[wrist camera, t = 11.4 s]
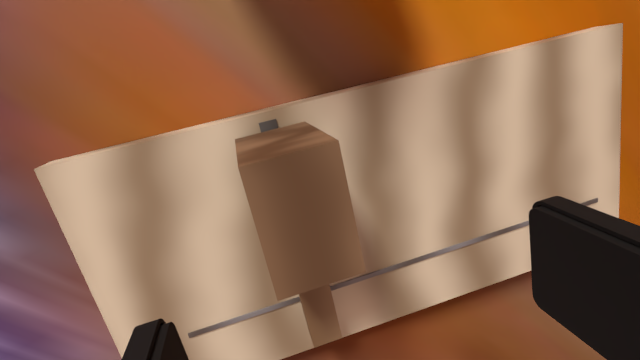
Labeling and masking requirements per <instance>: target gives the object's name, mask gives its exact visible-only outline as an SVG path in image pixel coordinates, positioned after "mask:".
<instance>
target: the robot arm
mask: <svg viewBox="0 0 640 360" xmlns="http://www.w3.org/2000/svg"><path fill="white" fill-rule="evenodd" d="M529 233H530V252H531V271H532V290H533V297H534V300H535V302H536V304H537V305H538V306H539V307H540V308H541V309H542V310H543V311H545V312H546V313H547V314H548V315H550V316H551V317H552V318H554V319H555V320H556V321H558V322H559V323H560V324H561V325H563V326H564V327H565V328H567V329H568V330H569V331H571V332H572V333H573V334H574V335H576V336H577V337H578V338H580V339H581V340H582V341H584V342H585V343H586V344H587V345H589V346H590V347H591V348H593V349H594V350H595V351H597V352H598V353H599V354H600V355H602V356H603V357H604V358H606V359H607V360H640V226H638V225H635V224H633V223H630V222H627V221H625V220H622V219H619V218H617V217H614V216H611V215H609V214H606V213H603V212H601V211H598V210H596V209H593V208H590V207H588V206H585V205H582V204H580V203H577V202H574V201H572V200H569V199H566V198H564V197H561V196H553V197H550V198H547V199H543V200H540V201H537V202H535V203H534V204H533V206H532V209H531V210H530V211H529ZM122 360H189V359H188V356H187V354H186V351H185V349H184V346H183V344H182V341H181V339H180V336H179V334H178V331H177V329H176V327H175V325H174V323H173V322H169V323H166V322H165V321H164V320H163V319H161V318H160V319H157V320H154V321H151V322H148V323H144V324H141V325H138V326H136V327H135V328H134V330H133V332H132V335H131V337H130V340H129V342H128V345H127V347H126V350H125V352H124V355H123V357H122Z"/></svg>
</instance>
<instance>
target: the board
mask: <svg viewBox="0 0 640 360" xmlns="http://www.w3.org/2000/svg"><path fill="white" fill-rule="evenodd" d="M622 37H623V23H620V24H612V25H605V26H598V27H593V28H589V29H585V30H581V31H577V32H572V33H568V34H564V35H560V36H556V37H552V38H548V39H544V40H540V41H536V42H532V43H528V44H524V45H520V46H516V47H512V48H508V49H504V50H500V51H496V52H492V53H488V54H483V55H479V56H475V57H471V58H467V59H463V60H459V61H455V62H451V63H447V64H443V65H439V66H435V67H431V68H427V69H423V70H419V71H415V72H411V73H407V74H403V75H399V76H394V77H390V78H386V79H382V80H378V81H374V82H370V83H366V84H362V85H358V86H354V87H350V88H346V89H342V90H338V91H334V92H330V93H326V94H322V95H318V96H314V97H310V98H305V99H301V100H297V101H293V102H289V103H285V104H281V105H277V106H273V107H269V108H265V109H261V110H257V111H253V112H249V113H245V114H241V115H237V116H233V117H229V118H225V119H221V120H216V121H212V122H208V123H204V124H200V125H196V126H192V127H188V128H184V129H180V130H176V131H172V132H168V133H164V134H160V135H156V136H152V137H148V138H144V139H140V140H136V141H132V142H127V143H123V144H119V145H115V146H111V147H107V148H103V149H99V150H95V151H91V152H87V153H83V154H79V155H75V156H71V157H67V158H63V159H59V160H55V161H51V162H49V163H47V164H44V165H42V166H40V167H38V168H36V169H34V171H35V173H36V175H37V177H38V179H39V181H40V184H41V186H42V188H43V190H44V192H45V194H46V196H47V199H48V201H49V203H50V205H51V207H52V209H53V211H54V214H55V216H56V218H57V220H58V222H59V224H60V226H61V229H62V231H63V233H64V235H65V237H66V239H67V241H68V244H69V246H70V248H71V250H72V252H73V254H74V256H75V259H76V261H77V263H78V265H79V267H80V269H81V271H82V274H83V276H84V278H85V280H86V282H87V284H88V286H89V289H90V291H91V293H92V295H93V297H94V299H95V301H96V304H97V306H98V308H99V310H100V312H101V314H102V316H103V319H104V321H105V323H106V325H107V327H108V329H109V331H110V334H111V336H112V338H113V340H114V342H115V344H116V346H117V348H118V351H119V353H120V355H121V357H123V355H124V352H125V350H126V347H127V345H128V342H129V340H130V337H131V335H132V332H133V330H134V328H135V327H136V326H138V325H141V324H144V323H148V322H151V321H154V320H157V319H160V318H161V319H163V320H164V321H165V322H166V323H169V322H173V323H174V325H175V327H176V329H177V331H178V334H179V336H180V339H181V341H182V344H183V346H184V349H185V351H186V354H187V356H188V359H189V360H281V359H284V358H286V357H289V356H292V355H295V354H298V353H300V352H303V351H306V350H309V349H312V348H314V346H313V342H312V339H311V336H310V333H309V330H308V326H307V323H306V319H305V316H304V312H303V308H302V305H301V301H300V297H299V294H298V295H295V296H292V297H289V298H286V299H283V300H280V301H277V297H276V294H275V291H274V287H273V284H272V281H271V277H270V274H269V270H268V267H267V264H266V260H265V257H264V254H263V250H262V247H261V243H260V240H259V237H258V233H257V230H256V227H255V223H254V220H253V216H252V213H251V210H250V206H249V203H248V200H247V196H246V193H245V190H244V186H243V183H242V179H241V176H240V173H239V169H238V163H237V155H236V146H235V139H238V138H242V137H246V136H249V135H253V134H257V133H261V132H265V131H269V130H273V129H277V128H281V127H284V126H288V125H292V124H296V123H300V122H304V121H305V122H307V123H309V124H311V125H312V126H314V127H316V128H318V129H319V130H321V131H323V132H325V133H327V134H328V135H330V136H332V137H334V138H335V139H337V140H339V144H340V149H341V154H342V159H343V164H344V168H345V173H346V178H347V183H348V188H349V192H350V197H351V202H352V207H353V212H354V216H355V221H356V226H357V231H358V236H359V241H360V245H361V250H362V255H363V260H364V265H365V269H366V272H365V273H362V274H359V275H356V276H353V277H350V278H347V279H343V280H340V281H337V282H334V283H331V284H329V285H330V289H331V293H332V297H333V301H334V305H335V310H336V314H337V318H338V322H339V326H340V330H341V334H342V338H343V337H346V336H348V335H351V334H354V333H357V332H360V331H362V330H365V329H368V328H371V327H374V326H377V325H379V324H382V323H385V322H388V321H391V320H393V319H396V318H399V317H402V316H405V315H407V314H410V313H413V312H416V311H419V310H422V309H424V308H427V307H430V306H433V305H436V304H438V303H441V302H444V301H447V300H450V299H453V298H455V297H458V296H461V295H464V294H467V293H469V292H472V291H475V290H478V289H481V288H484V287H486V286H489V285H492V284H495V283H498V282H500V281H503V280H506V279H509V278H512V277H514V276H517V275H520V274H523V273H526V272H529V271H531V252H530V233H529V211H530V210H531V209H532V206H533V204H534V203H535V202H537V201H540V200H543V199H547V198H550V197H553V196H561V197H564V198H566V199H569V200H572V201H574V202H577V203H580V204H582V205H585V206H588V207H590V208H593V209H596V210H598V211H601V212H603V213H606V214H609V215H611V216H614V217H617V218H619V180H620V132H621V84H622Z"/></svg>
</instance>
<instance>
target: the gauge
mask: <svg viewBox="0 0 640 360" xmlns="http://www.w3.org/2000/svg"><path fill="white" fill-rule="evenodd" d="M235 146H236V155H237V163H238V169H239V173H240V176H241V179H242V183H243V186H244V190H245V193H246V196H247V200H248V203H249V206H250V210H251V213H252V216H253V220H254V223H255V227H256V230H257V233H258V237H259V240H260V243H261V247H262V250H263V254H264V257H265V260H266V264H267V267H268V270H269V274H270V277H271V281H272V284H273V287H274V291H275V294H276V297H277V301H280V300H283V299H286V298H289V297H292V296H295V295H298V294H299V297H300V301H301V305H302V308H303V312H304V316H305V319H306V323H307V326H308V330H309V333H310V336H311V339H312V342H313V346H314V348H315V347H318V346H321V345H324V344H327V343H329V342H332V341H335V340H338V339H341V338H342V334H341V330H340V326H339V322H338V318H337V314H336V310H335V305H334V301H333V297H332V293H331V289H330V285H329V284H331V283H334V282H337V281H340V280H343V279H347V278H350V277H353V276H356V275H359V274H362V273H365V272H366V269H365V265H364V260H363V255H362V250H361V245H360V241H359V236H358V231H357V226H356V221H355V216H354V212H353V207H352V202H351V197H350V192H349V188H348V183H347V178H346V173H345V168H344V164H343V159H342V154H341V149H340V144H339V140H337V139H335V138H334V137H332V136H330V135H328V134H327V133H325V132H323V131H321V130H319V129H318V128H316V127H314V126H312V125H311V124H309V123H307V122H305V121H304V122H300V123H296V124H292V125H288V126H284V127H281V128H277V129H273V130H269V131H265V132H261V133H257V134H253V135H249V136H246V137H242V138H238V139H235Z"/></svg>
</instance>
